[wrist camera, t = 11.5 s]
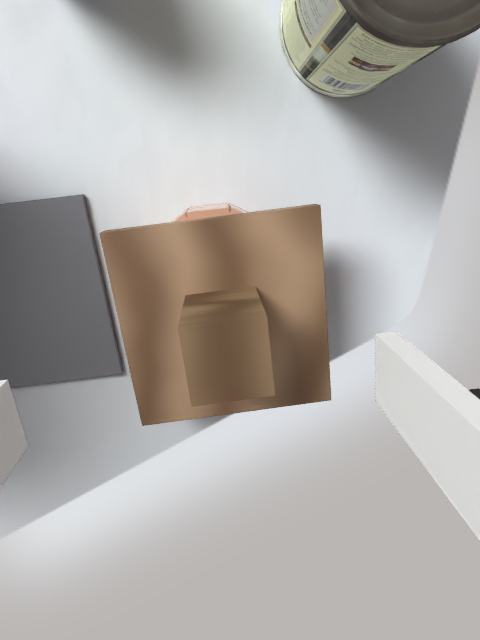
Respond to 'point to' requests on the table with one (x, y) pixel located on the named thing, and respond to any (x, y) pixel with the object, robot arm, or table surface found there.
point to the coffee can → (367, 38)
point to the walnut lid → (222, 312)
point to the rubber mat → (52, 295)
